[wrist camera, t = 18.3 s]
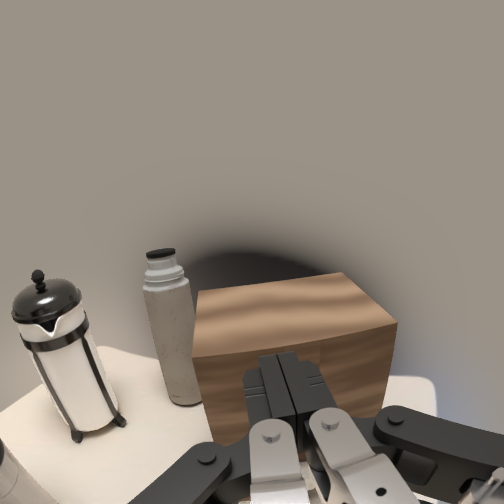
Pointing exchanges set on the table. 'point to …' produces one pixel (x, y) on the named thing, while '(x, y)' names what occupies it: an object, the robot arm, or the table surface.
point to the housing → (290, 344)
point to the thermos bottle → (172, 324)
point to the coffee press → (65, 354)
